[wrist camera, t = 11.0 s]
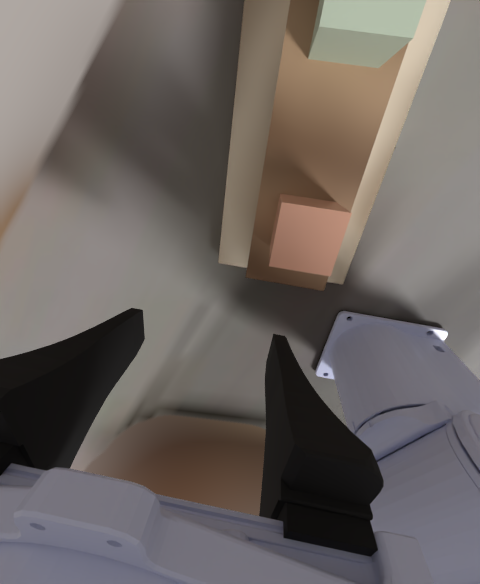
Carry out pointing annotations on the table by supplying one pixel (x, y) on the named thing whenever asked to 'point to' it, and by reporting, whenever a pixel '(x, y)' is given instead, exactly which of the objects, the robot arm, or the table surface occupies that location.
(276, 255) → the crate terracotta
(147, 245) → the table surface
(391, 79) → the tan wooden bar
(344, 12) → the pale green cube
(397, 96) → the dock
